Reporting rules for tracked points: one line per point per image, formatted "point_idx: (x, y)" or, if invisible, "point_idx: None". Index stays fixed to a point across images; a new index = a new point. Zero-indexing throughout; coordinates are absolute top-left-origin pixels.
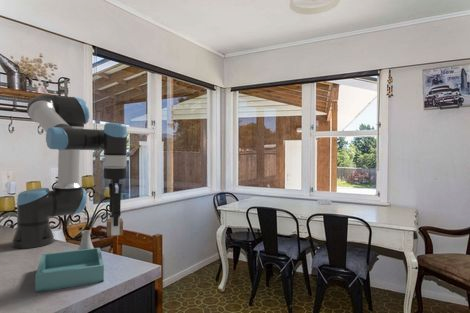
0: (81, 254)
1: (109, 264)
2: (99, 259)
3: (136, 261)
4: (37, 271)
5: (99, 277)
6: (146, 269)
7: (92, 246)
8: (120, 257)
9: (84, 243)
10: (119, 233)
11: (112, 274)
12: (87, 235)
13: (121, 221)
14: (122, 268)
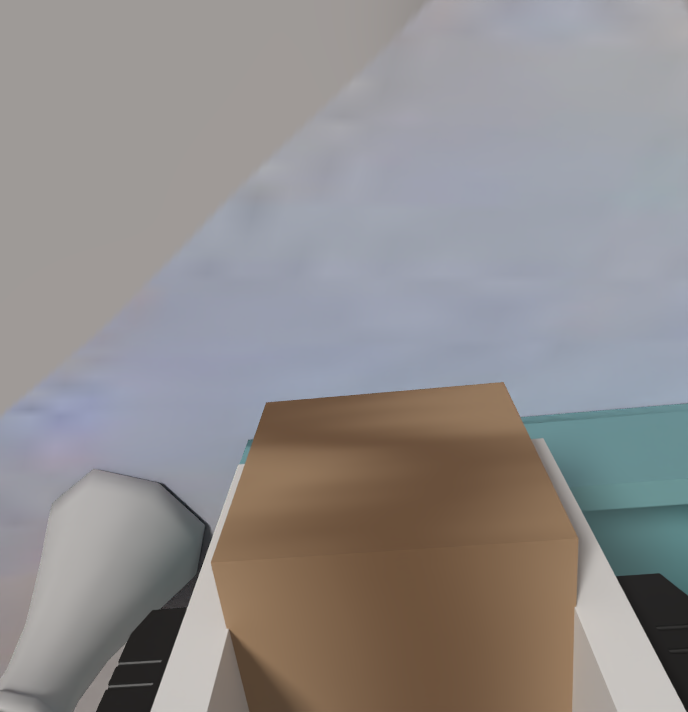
0: None
1: (358, 365)
2: (625, 505)
3: (353, 119)
4: None
5: None
6: (642, 21)
7: (81, 554)
8: (185, 275)
9: (115, 645)
10: (550, 452)
11: (620, 339)
12: (61, 691)
13: (572, 562)
14: (507, 259)
